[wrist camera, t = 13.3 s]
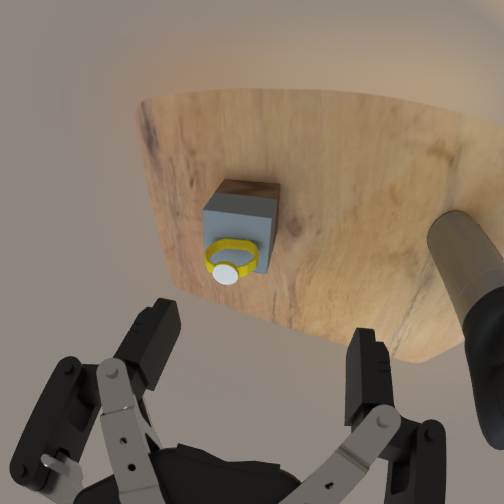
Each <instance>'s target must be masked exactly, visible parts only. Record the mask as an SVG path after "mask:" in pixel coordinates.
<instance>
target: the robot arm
mask: <svg viewBox="0 0 504 504" xmlns="http://www.w3.org/2000/svg"><path fill="white" fill-rule="evenodd" d="M427 244H428V248H429V250H430V253H431V255H432V257H433V259H434V261H435V264H436V266H437V268H438V270H439V273H440V275H441V277H442V279H443V282H444V284H445V287H446V289H447V291H448V294H449V296H450V299H451V301H452V304H453V306H454V309H455V312H456V314H457V317H458V320H459V322H460V325H461V328H462V331H463V334H464V337H465V353H466V358H467V362H468V366H469V371H470V376H471V382H472V387H473V394H474V400H475V406H476V412H477V416H478V420H479V424H480V427H481V430H482V433H483V435H484V437H485V439H486V440H487V442H488V443H489V445H491V446H492V447H493V448H495V449H497V450H504V262H503V257H502V256H501V254H500V253H499V251H498V250H497V248H496V247H495V246H494V244H493V243H492V241H491V240H490V239H489V237H488V236H487V235H486V233H485V232H484V231H483V229H482V228H481V227H480V226H479V224H476V223H475V222H474V221H473V219H472V218H471V217H470V216H469V215H468V214H466V213H464V212H461V211H452V212H448V213H446V214H444V215H442V216H441V217H440V218H438V219H437V220H436V221H435V222H434V224H433V225H432V227H431V229H430V231H429V234H428V240H427ZM180 330H181V321H180V317H179V312H178V308H177V304H176V301H174V300H169V299H164V298H158V299H157V301H156V302H155V304H154V306H153V307H152V308H151V307H147V308H145V309H144V310H143V311H142V312H141V313H139V314H138V316H137V318H136V320H135V321H134V324H132V326H131V328H130V331H128V333H127V334H126V336H125V338H124V340H123V342H122V343H121V345H120V347H119V348H118V350H117V352H116V353H115V355H114V356H113V358H110V359H106V360H104V361H103V362H102V363H100V364H99V365H94V364H81V362H80V361H79V360H78V359H77V358H76V357H72V356H69V357H65V358H63V359H62V360H60V362H59V363H58V364H57V366H56V368H55V369H54V371H53V373H52V375H51V377H50V379H49V380H48V382H47V384H46V386H45V388H44V390H43V392H42V394H41V396H40V398H39V400H38V402H37V404H36V406H35V408H34V410H33V412H32V414H31V416H30V418H29V420H28V422H27V424H26V427H25V429H24V431H23V433H22V436H21V438H20V440H19V443H18V445H17V447H16V450H15V452H14V455H13V457H12V460H11V462H10V474H11V476H12V478H13V480H14V481H15V482H16V483H18V484H19V485H22V486H24V487H26V488H28V489H30V490H32V491H34V492H36V493H39V494H42V495H44V496H45V497H47V498H49V499H50V500H52V501H53V502H55V503H57V504H339V503H340V502H341V501H342V500H343V499H344V498H345V497H346V496H347V495H348V493H350V491H351V490H352V489H353V488H354V487H355V486H356V485H357V484H358V483H359V482H360V480H361V479H362V478H363V477H364V476H365V475H366V473H367V472H368V470H369V467H370V466H371V464H372V463H373V462H374V461H375V459H376V458H377V457H378V458H382V459H385V460H388V461H389V462H388V473H387V483H386V492H385V500H384V504H445V492H446V432H445V429H444V427H443V425H442V424H441V423H440V422H439V421H436V420H432V419H431V420H427V421H424V422H423V423H422V424H421V423H418V422H415V421H411V420H408V419H406V418H404V417H402V416H401V415H400V414H399V413H398V411H397V410H396V409H395V406H394V400H393V387H392V379H391V378H392V377H391V368H390V358H389V351H388V350H387V348H386V346H385V344H384V343H383V342H376V339H375V331H374V329H368V328H356V330H355V333H354V335H353V337H352V340H351V342H350V345H349V347H348V350H347V354H346V396H345V424H344V425H345V426H352V427H351V434H350V435H349V437H348V438H347V439H346V440H345V441H344V442H343V443H342V444H341V445H340V446H339V447H338V448H337V450H335V452H334V453H333V454H332V455H331V456H330V457H329V458H328V459H327V460H326V461H325V462H324V463H323V464H322V465H321V466H320V467H318V468H317V469H316V470H315V471H314V472H313V473H312V474H311V475H310V476H309V477H308V478H307V479H306V480H304V481H303V482H302V483H301V482H300V481H299V480H298V479H297V478H296V477H295V476H293V475H292V474H290V473H288V472H286V471H284V470H281V469H280V464H273V463H265V462H259V461H243V462H227V461H224V460H221V459H219V458H217V457H215V456H213V455H211V454H209V453H207V452H205V451H204V450H201V449H197V448H193V447H190V446H186V445H183V444H179V443H178V445H177V448H165V449H163V447H162V445H161V443H160V440H159V438H158V436H157V434H156V432H155V430H154V427H153V424H152V422H151V419H150V415H149V412H148V409H147V406H146V403H145V399H144V396H143V394H144V392H145V390H146V389H148V390H151V391H154V389H155V387H156V385H157V383H158V380H159V378H160V376H161V374H162V371H163V369H164V367H165V365H166V362H167V360H168V358H169V356H170V354H171V351H172V349H173V347H174V345H175V343H176V340H177V338H178V336H179V333H180ZM101 406H102V409H103V414H102V415H101V416H100V421H101V426H102V431H103V435H104V439H105V443H106V447H107V451H108V455H109V459H110V462H111V465H112V469H113V472H114V474H113V475H111V476H109V477H107V478H105V479H103V480H101V481H99V482H97V483H95V484H93V485H91V486H89V487H87V488H85V489H83V487H82V479H83V475H82V469H81V467H80V465H79V464H78V463H79V460H80V458H81V455H82V452H83V450H84V447H85V444H86V442H87V440H88V437H89V434H90V432H91V429H92V427H93V425H94V422H95V420H96V417H97V415H98V412H99V410H100V408H101Z"/></svg>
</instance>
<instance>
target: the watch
mask: <svg viewBox="0 0 504 504" xmlns="http://www.w3.org/2000/svg"><path fill="white" fill-rule="evenodd" d="M224 249H237V250H247V251H249V252H250V253H252V254H253V255H254V257H253V259H252V260H251V261H249V262H248V263H246V264H245V265H240V266H236V265H235V264H233V263H231V262H229V261H220V262H217V263H216V264H214V263H212V262H211V261H210V258H211V256H213V255H214V254H215V253H216V252H218V251H221V250H224ZM204 258H205V264H206V267H207V269H208V271H209V272H210V273H212V274H213V277H214V278H215V279H216V280H217V281H218V282H219V283H222V284H225V285H230V284H233V283H235V282H236V281H237V279H238V278H239V277H243V276H246V275H248V274H249V273H251V272H252V271H254V270H255V269H256V267H257V265H258V263H259V251H258V249H257V246H256V245H255V244H254V243H252V242H251V241H249V240H238V239H227V238H224V239H221V240H218V241H216V242H214V243H212V244H211V245H210V246H208V248H207V249H206V251H205V254H204Z"/></svg>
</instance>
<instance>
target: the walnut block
mask: <svg viewBox="0 0 504 504" xmlns="http://www.w3.org/2000/svg"><path fill="white" fill-rule="evenodd" d="M215 192H217V193H227V194H236V195H244V196H253V197H261V198H269V199H277V206H276V217H275V227H274V237H273V247H274V243H275V239H276V234H277V223H278V209H279V193H280V184H272V183H262V182H250V181H238V180H224V181H223V182H222V183H221V185H220V186H219V187H218V189H217V190H216V191H215ZM272 251H273V248H272Z"/></svg>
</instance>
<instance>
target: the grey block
mask: <svg viewBox="0 0 504 504" xmlns="http://www.w3.org/2000/svg"><path fill="white" fill-rule="evenodd" d="M276 206H277V199H269V198H261V197H253V196H244V195H236V194H227V193H217V192H215V193H214V195H213V196H212V197H211V199H210V200H209V202H208V203H207V204H206V206H205V207H204V208H203V210H202V211H203V230H204V247H205V251H206V249H207V248H208V246H210V245H211V244H212V243H214V242H216V241H218V240H221V239H224V238H227V239H238V240H249V241H251V242H252V243H254V244H255V245H256V246H257V249H258V251H259V263H258V265H257V267H256V269H255V270H254V271H252V272H255V273H261V274H267V271H268V267H269V262H270V258H271V254H272V248H273V237H274V227H275V217H276ZM253 257H254V255H253V254H252V253H250V252H249V251H247V250H237V249H224V250H221V251H218V252H216V253H215V254H214V255H213V256H211V258H210V261H211V262H212V263H214V264H216V263H217V262H220V261H229V262H231V263H233V264H235V265H236V266H240V265H245V264H246V263H248V262H249V261H251V260H252V259H253Z"/></svg>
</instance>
